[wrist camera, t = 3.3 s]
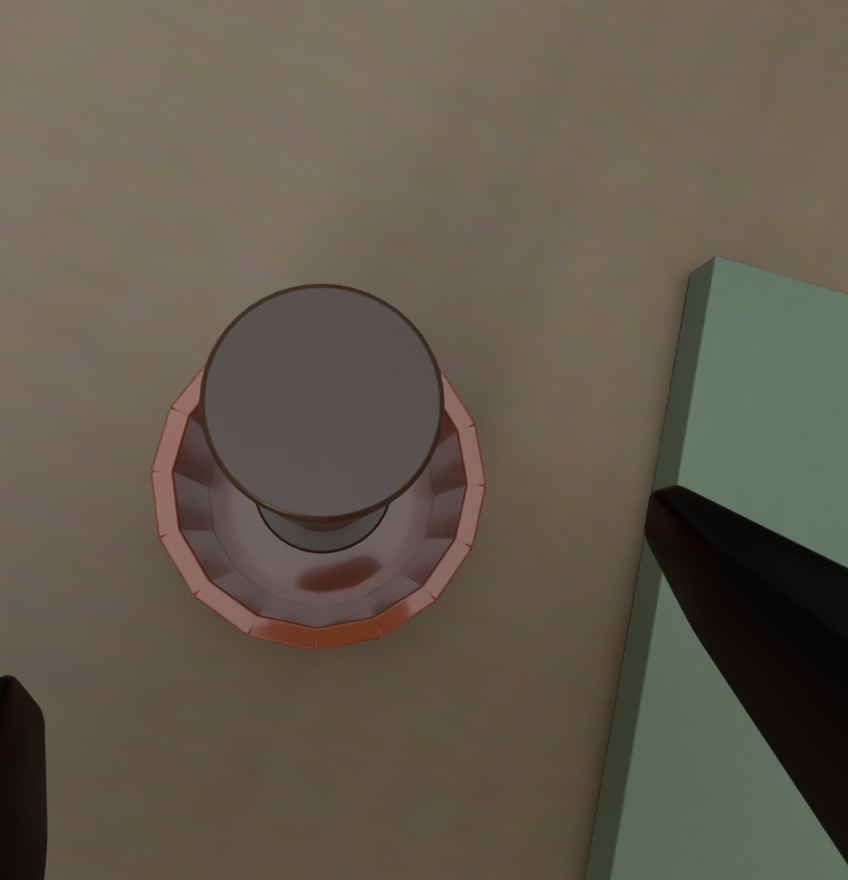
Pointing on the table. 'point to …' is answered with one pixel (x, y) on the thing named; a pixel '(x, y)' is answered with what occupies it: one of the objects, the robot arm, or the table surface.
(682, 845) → the board
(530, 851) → the table surface
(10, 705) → the robot arm
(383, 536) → the cup
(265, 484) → the stirrer
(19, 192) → the table surface
